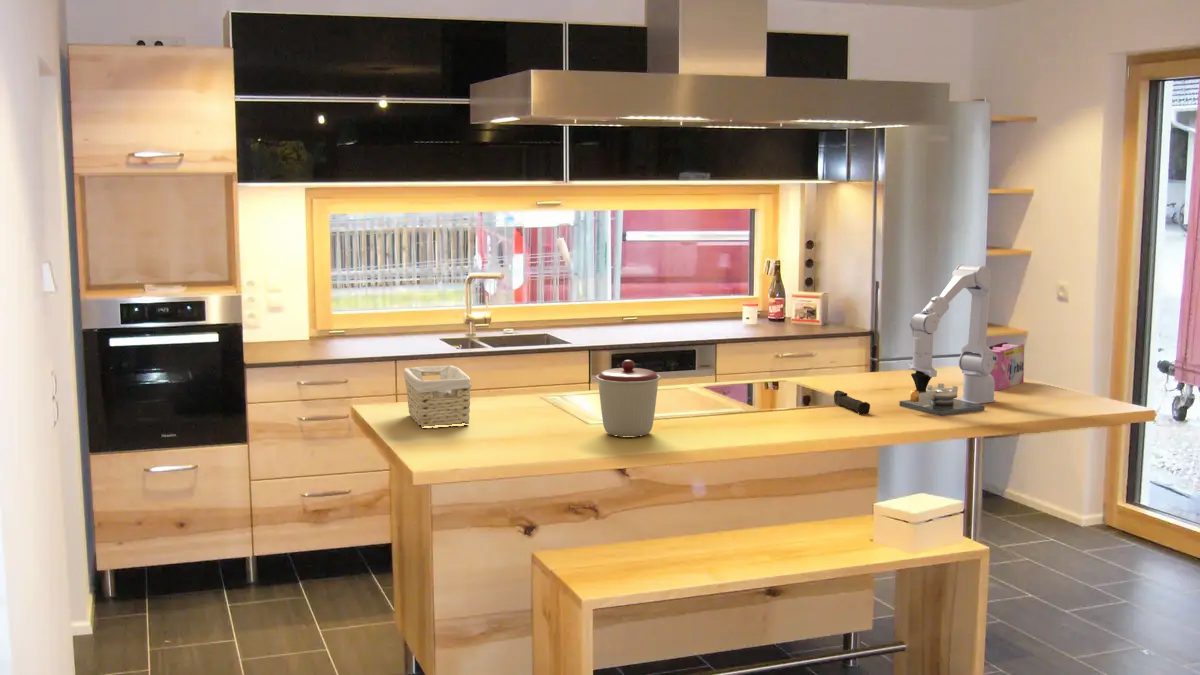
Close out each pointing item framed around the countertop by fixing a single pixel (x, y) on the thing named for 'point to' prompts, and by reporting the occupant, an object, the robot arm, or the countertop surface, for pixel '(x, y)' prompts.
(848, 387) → the countertop surface
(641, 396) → the canister
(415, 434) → the countertop surface
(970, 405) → the plate
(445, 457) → the countertop surface
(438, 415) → the storage basket
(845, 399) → the hand tool
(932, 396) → the grey mechanical part
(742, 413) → the countertop surface
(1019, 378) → the gum box
